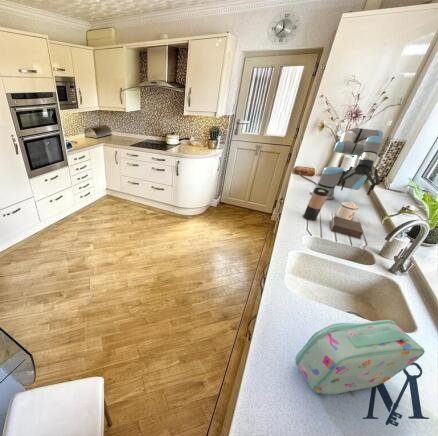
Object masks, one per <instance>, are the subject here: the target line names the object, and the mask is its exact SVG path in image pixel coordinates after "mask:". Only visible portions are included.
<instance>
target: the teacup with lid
mask: <svg viewBox="0 0 438 436" xmlns="http://www.w3.org/2000/svg"><path fill="white" fill-rule="evenodd" d="M358 210H359V206H358V205H357V204H355V203H354V201H352V200H350V201H346V202H345V201H343V202H341V203H340V205H339V208H338V210H337V212H336V214H335V215H336V216H335V217H339V218H343V219H347V220H351V221H352V219H353V218H354V216H355V214H356V212H357V211H358Z"/></svg>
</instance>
